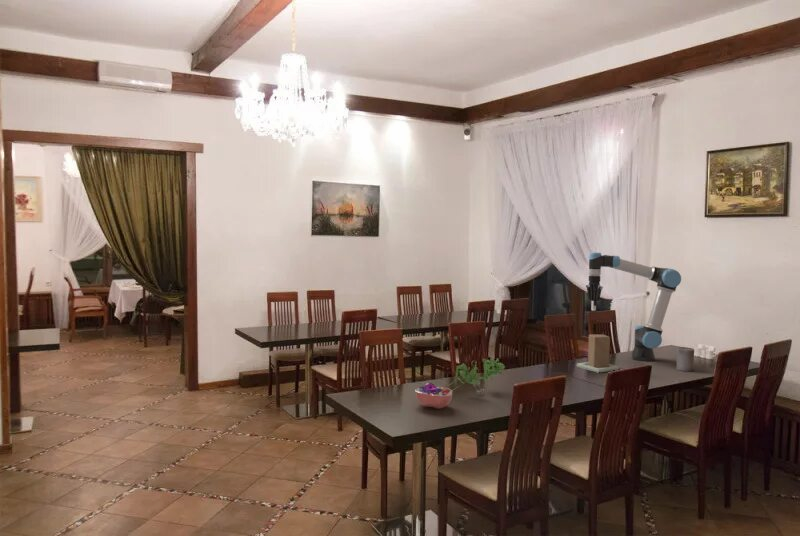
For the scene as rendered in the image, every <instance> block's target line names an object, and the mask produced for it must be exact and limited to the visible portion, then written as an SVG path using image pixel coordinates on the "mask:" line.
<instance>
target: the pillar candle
mask: <svg viewBox="0 0 800 536" xmlns="http://www.w3.org/2000/svg"><path fill="white" fill-rule="evenodd" d="M676 348H677V349H676V351H677V352H676V353H677V354H676V370H677V371H682V372H688V371H690V372H693V371H694V365H695V362H694V361H695V349H694V348H691V347H687V346H685V347H684V346H683V347H681V346H680V347H676Z"/></svg>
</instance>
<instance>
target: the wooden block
mask: <svg viewBox="0 0 800 536" xmlns="http://www.w3.org/2000/svg"><path fill="white" fill-rule="evenodd" d="M610 345H611V337H610V336H608V335H605V334H588V353H587V358H588V359H587V362H588V365H589V366H592V367H595V368H604V367H609V364H610V352H611V350H610V349H611V346H610Z"/></svg>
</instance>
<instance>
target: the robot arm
mask: <svg viewBox="0 0 800 536" xmlns="http://www.w3.org/2000/svg"><path fill="white" fill-rule="evenodd" d="M588 257H589V258H588V260H589V261H588V275H589V276H588V281H589V282H588V284H586V285H585V287H586V291H587V297H588V300H590V305H591V308H590V309H591V311H593V312H595V311H597V305H598V303H597V302H598V301H600V300H601V299H600V298H601V294H602V290H603V288H604V286H602V285H601V272H602V271H601V270H602V268H604V267H605V268H612V269H614V270H617V271H622V272H626V273H628V274H632V275H636V276H640V277H643V278H647V279H648V281H652V282H654V283H657V285H656V287H657V289H658V290H657V292H656V296H655V299H654V302H653V305H652V309H651V311H650V314H649V317H648V321H647V323H646V324H644V325H635V327H634V347H633V350H632V353H631V359H633V360H636V361H641V360H643V361H642V362H652V361H656V356H655V353H654V352H655V351H654V349H655V348H656V349H657V348H658V347H660V346H661V344H662V341H663V338H662V333H663V329H662V325H663V323H664V319H665V316H666V313H667V310H668V307H669V304H670V301H671V297H672V294H673V293H675V292H676V291H677V287H678V286H679V285H680V284H681V282H682V276H681V274H680V273H681V272H679V271H678V270H676V269H673V268H667V267H666V268H665V267H658V266H657V267H656V266H647V265H643V264H642V263H641V264H640V263H636V262H634V261H629V260H626V259H622V258H620V256H619V255H609V254H608V255H607V254H603V255H602V253H601V252H590V253H589V256H588Z"/></svg>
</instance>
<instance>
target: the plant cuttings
mask: <svg viewBox="0 0 800 536" xmlns="http://www.w3.org/2000/svg"><path fill="white" fill-rule="evenodd" d="M473 362H474V363H475V365H474V366H473V367H472V368H471V367H470V366H469V367H468V366H467V364H465V363H462V364H460V365H456V369H455V381H459V382H460V383H461V385H458V386H457V387H455V388H454V389H452V391H453V390H456V389H457V388H459V387H461V386H462V384H466V383H468V384H471V385H472V387H474V388H475V391H476V394H478V395H479V396H480V395H483V394H484V393H485V389H484V388H481V382H482V380H483V381H484V382H485V381H487V380H488V379H489V380H490V381H491V382H493V381H494V376H493V375H498V374H500V375H503V371H504V369H505V368H506V366H505V364H503V363H502V362H500V359H499V358H496V359H495V358H494V357H493V358H492V357H490V358H489V359H485V358H483V359H482V362H483V375H481V376H480V375H479V374H477V372H480V371H479V368H478V367H477V360H472V361H471V364H473ZM469 370H470V371H469ZM460 377H462V378H460ZM463 379H464V381H462V380H463ZM453 383H454V381H452V382H451V383H449V384H448V385H443V386H444V388H446V387H448V386H451V385H452V384H453ZM476 386H478V387H479V390H478V388H477V387H476ZM480 393H481V394H480Z"/></svg>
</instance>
